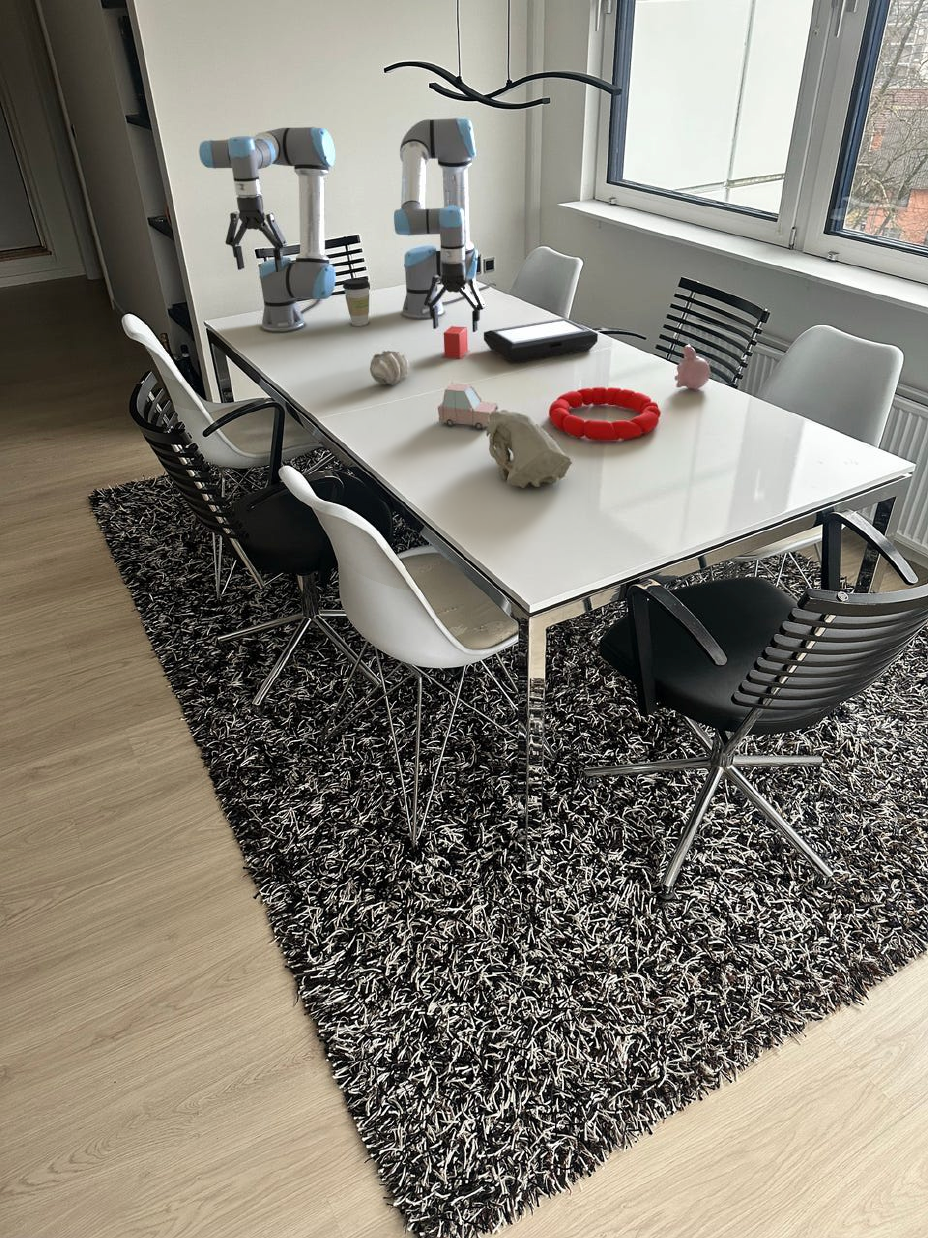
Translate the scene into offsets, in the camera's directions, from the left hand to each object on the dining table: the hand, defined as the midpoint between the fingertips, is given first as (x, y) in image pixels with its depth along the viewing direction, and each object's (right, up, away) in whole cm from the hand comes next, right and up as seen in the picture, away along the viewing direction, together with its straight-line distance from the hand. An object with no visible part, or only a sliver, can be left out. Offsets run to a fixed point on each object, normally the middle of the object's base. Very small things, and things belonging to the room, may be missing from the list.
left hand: (260, 269), depth 278 cm
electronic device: (+89, -19, +19) cm, 93 cm away
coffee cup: (+25, 0, +49) cm, 56 cm away
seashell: (+41, -37, -4) cm, 56 cm away
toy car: (+65, -55, -32) cm, 91 cm away
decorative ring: (+102, -55, -34) cm, 121 cm away
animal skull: (+78, -72, -58) cm, 121 cm away
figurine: (+130, -41, -15) cm, 138 cm away
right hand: (+61, -14, +13) cm, 64 cm away
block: (+61, -21, +17) cm, 67 cm away
